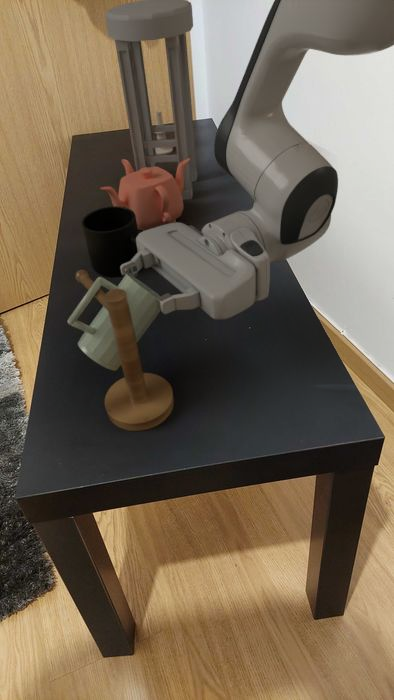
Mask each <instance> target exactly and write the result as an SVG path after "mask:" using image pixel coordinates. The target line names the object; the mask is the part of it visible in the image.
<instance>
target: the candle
mask: <svg viewBox="0 0 394 700" xmlns="http://www.w3.org/2000/svg"><path fill="white" fill-rule="evenodd" d="M154 114H155V122H156V124H155V125H164V122H163V114H162V111H155V113H154ZM153 134H156V140H162V139H167V137H166V132H154V133H153ZM155 150H156V155H170V154H172V153H173V151H174V147H162V148H155Z"/></svg>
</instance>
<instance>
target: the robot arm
mask: <svg viewBox="0 0 394 700" xmlns="http://www.w3.org/2000/svg"><path fill="white" fill-rule="evenodd" d="M254 45H255V46H254V48H253V51H252V54H251V56H250V58H249V60H248V64H247V66H246V68H245V70H244V74H243V76H242V79H241V81H240V83H239V87H238V89H237V91H236V95H235V96H234V98H233V101H232V103H231V104H230V106H229V108H228V109H227V111H226V112H225V114H224V116H223V117H222V119H221V121H220V123H219V124H218V127H217V129H216V133H215V137H214V145H213V146H214V147H213V153H214V158H215V161H216V162H217V164H218V166H220V167H221V168H222V169H223V170H224V171H225V172H226V173H227V174H229V176H230V177H231V178H233V179H234V180H236V182H238V183H239V185H240V186H241V187H242V188H243V189H244V190H245V191H246V192H247V194H248V195H249V196H250V197H251V198H252V200H254V202H253V206H252V207H251V208H250V209H248V210H239V211H236V212H233V213H230V214H228V215H226V216H223V217H220V218H218V219H216V220H213V221H210V222H208V223H206V224H205V225H203V227H202V228H201V230H199V229H197V227H195V225H191V224H189V225H187V224H185V223H183V222H177V221H176V222H175V223H169V224H167V223H166V224H164V225H161V226H158V227H154V228H152V229H148V230H146V231H143V230H142V231H141V232H138V233H139V235H138V236H137V237H136V244H137V250H138V253H137V254H136V255H135V256H134V257H133V258H132V260H131V261H129V262H127V263H124V264H122V265H121V266H120V270H121V274H122V275H121V276H123V278H124V277H125V275H126V274H130V275H132V276H133V277H135V278H138V277H139V271H141V270H142V269H143V268H144V269H149V268H152V269H153V270H154V271H155V272H157V273H158V274H159V275H160V276H161V277H163V278H164V279H165V280H166V281H168V282H169V283H170V284H171V285H172V286H173V287H174V288H176V289H177V290H178V291H180V293H178V294H171V293H169V292H166V293H164V294H162V295H160V297H158V298H157V300H156V302H157V307H158V309H160V310H161V311H160V312H161V313H162V314H163V315H168V314H171V313H172V312H174V311H186V310H188V311H189V310H194V309H197V308H199V309H201V310H202V311H203V312H204V313H206V314H207V315H208V317H210V318H212V319H213V320H229V319H230V318H232V317H234V316H236V315H239V314H240V313H242V312H244V311H246V310H247V309H249V308H250V307H252V306H253V305H254V304H255V302H259V301H263V300H265V299H267V298H268V297H269V292H270V281H271V265H270V264H275V263H280V262H283V261H285V260H288V259H290V258H292V257H293V256H295V255H297V254H299V253H301V252H302V251H304V250H306V249H307V248H309V247H311V246H312V245H313V244H315V243H316V242H317V241H318V240H320V239H321V238H322V237H323V236H324V235H325V234H326V233H327V231H328V229H329V227H330V225H331V221H332V213H333V211H334V208H335V205H336V201H337V197H338V196H337V195H338V191H339V190H338V189H339V177H338V176H339V175H338V171H337V169H335V168H334V166H333V165H332V164H331V163H330V162H329V161H328V159H326V157H325V156H324V155H323V154H321V152H319V151H318V149H316V148H315V147H314V146H313V145H312V144H311V143H309V141H307V140H306V138H305V137H304V136H303V135H302V134H300V133H299V131H298V130H296V129H295V127H294V126H293V125H291V124H290V121H288V119H287V117H286V115H285V112H284V109H283V100H284V98H285V97H286V94H287V93H288V91H289V88H290V86H291V84H292V83H293V81H294V77H295V76H296V74H297V72H298V70H299V68H300V66H301V64H302V62H303V60H304V58H305V56H306V54H307V53H308V51H309V50H313V51H318V52H322V53H326V54H331V55H334V56H335V55H336V56H347V57H348V56H349V57H350V56H365V55H371V54H374V53H378V52H382V51H384V50H386V49H389V48H391V47H393V46H394V0H274V1H273V3H272V5H271V7H270V9H269V12H268V13H267V16H266V18H265V20H264V23H263V25H262V29H261V30H260V33H259V36H258V38H257V41H256V43H255V44H254Z"/></svg>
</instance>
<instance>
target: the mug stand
mask: <svg viewBox="0 0 394 700" xmlns="http://www.w3.org/2000/svg"><path fill="white" fill-rule="evenodd" d="M74 278H75V280H76V282H77V283H79V284H82V285H83V286H84V287H85V289H87V291H88V290H89V289H90V288H91V286H92V285H93V283H94V282H95V280H93V279H92V278H91V277H90V275H89V272H88V271H87V270H86V269H79V270H77V271H76V273H75V277H74ZM93 298H95V299H96V300H97V301H98V302H99V304H101V305H102V307H103V306H104V307H105V308H106V309H107V310H108V313H109V317H110V321H111V325H112V329H113V333H114V337H115V341H116V345H117V349H118V353H119V357H120V362H121V366H120V367H121V369H122V373H123V377H122V378H120V379H119V380H117V381H115V382H114V383H113V384H112V385H111V386H110V387H109V389H108V390H107V391H106V394H105V397H104V408H105V411H106V414H107V416H108V419H109V421H110V422H111V424H113V425H114V426H116V427H117V428H119V429H122V430H125V431H129V432H141V431H147V430H150V429H152V428H155V427H157V426H159V425H161V424H162V423H163V422H164V421H166V419H167V418H169V416H170V415H171V413H172V411H173V409H174V404H175V398H174V393H173V392H174V391H173V388H172V386H171V383H169V382H168V381H167V380H166V378H164V377H162V376H161V375H158V374H156V373H151V372H144V371H143V366H142V361H141V356H140V351H139V346H138V343H137V341H136V337H135V332H134V327H133V322H132V318H131V313H130V308H129V303H128V298H127V294H126V292H125V291H124V290H122V289H114V290H111V291H110V290H108V291H107V292H105V291H104V290H102V288H101V287H100V288H99V290H98V291H97V292H96V294H95V295H94V297H93Z"/></svg>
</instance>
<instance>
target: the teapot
mask: <svg viewBox="0 0 394 700" xmlns="http://www.w3.org/2000/svg"><path fill="white" fill-rule="evenodd" d="M189 160H190V158H188V159H185V160H183V161H182V162H180V164H179V165H178V164H177V168H176V173H175V177H174V175H173V174H171V173H170V172H168V171H167V170H165V169H163V168H161V167H159V166H158V167H150V168H149V167H145V168H142V169H140V170H139V171H136V170H134V168H133V166H132V163H130V162H129V160H127V159H125V158H123V159H121V161H120V162H121V163H122V165H123V167H124V169H125V175H124V176H122V177H121V178H120V180H119V187H118V193H117V191H116V189H114V187H112V186H102V187H99V190H101V191H104V192H106V193H107V194H108V195H109V197H110V200H111V203H112V206H120V207H126V208H129V209H131V210H132V211H133V212H134V213H135V216H136V221H137V227H138V230H141V231H142V232H143V231H146V230H148V229H152V228H155V227H158V226H162V225H165V224H169V223H176V222H177V220H176V219H178V218H180V217H181V216H182V213H183V211H184V200H183V199H182V195H181V194H182V192H183V189H184V169H185V166H186V164H187V163H188V162H189Z"/></svg>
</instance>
